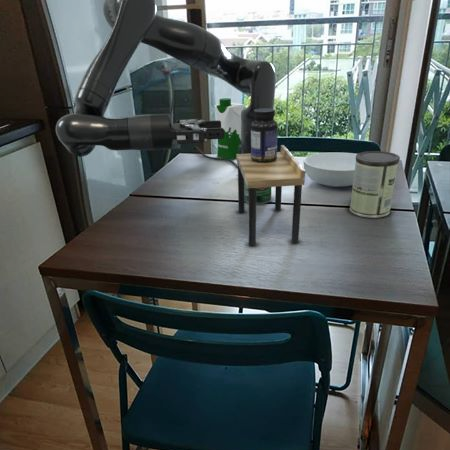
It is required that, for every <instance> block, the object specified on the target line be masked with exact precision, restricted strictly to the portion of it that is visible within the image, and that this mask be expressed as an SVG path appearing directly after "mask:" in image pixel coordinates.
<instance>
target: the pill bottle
mask: <svg viewBox="0 0 450 450" xmlns="http://www.w3.org/2000/svg"><path fill="white" fill-rule="evenodd" d="M275 116H276V109H274V108H273V109H268V108H263V109H256V110H254V117H255V121H253V122H252V124H251V159H252V160H253V161H254V162H259V163H266V162H273V161H275V160H276V159H277V152H278V129H279V127H278V126H279V124H278V122H277V121H276V120H275Z"/></svg>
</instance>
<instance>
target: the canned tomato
mask: <svg viewBox="0 0 450 450" xmlns="http://www.w3.org/2000/svg"><path fill="white" fill-rule="evenodd" d="M271 201H272V187H261V188H256V205H264V204H268V203H270V202H271ZM244 203H247V204H249V188H248V187H247V185H246V182H245V180H244Z"/></svg>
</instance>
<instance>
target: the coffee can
mask: <svg viewBox="0 0 450 450" xmlns="http://www.w3.org/2000/svg"><path fill="white" fill-rule="evenodd" d="M356 154H357V155H356V163H355V172H354V180H353V185H352V189H351V198H350V206H349V212H350V213H351V214H353V215H356V216H358V217H362V218H368V219H369V218H370V219H372V218H373V219H376V218H378V219H379V218H383V217H387V216H389V214H390V213H391V207H392V201H393V196H394V189H395V184H396V178H397V173H398V167H399V162H400V159H401V157H400V155H399V154H396V153H394V152H389V151H384V150H383V151H382V150H367V151H362V152H358V153H356Z"/></svg>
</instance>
